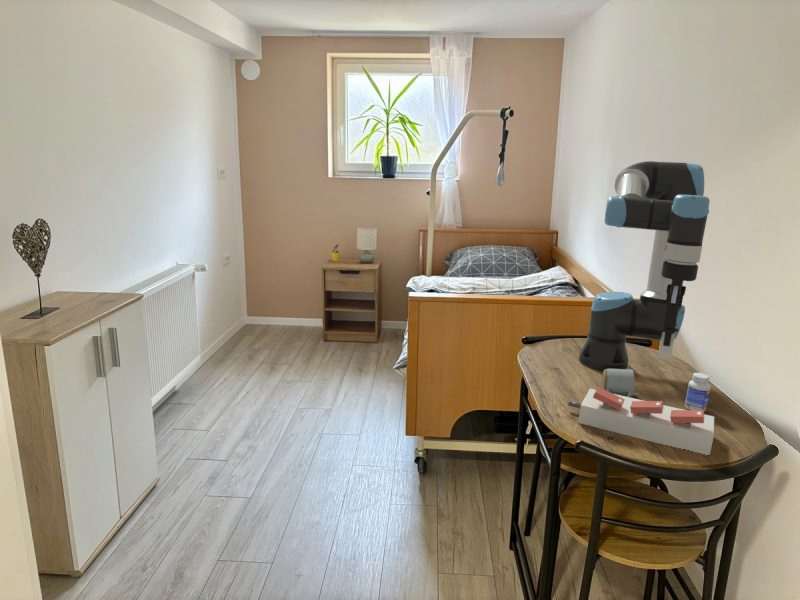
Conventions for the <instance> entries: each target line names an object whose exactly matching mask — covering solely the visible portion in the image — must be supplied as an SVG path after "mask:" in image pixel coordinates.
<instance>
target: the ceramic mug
mask: <svg viewBox="0 0 800 600" xmlns="http://www.w3.org/2000/svg"><path fill="white" fill-rule="evenodd" d="M601 377H602V378H601V388H602V389H604V390H606V391H608V392H610V393H612V394H617V395H621V396H625V397H630V398H633V396H634V391H635V372H634V370H633V369H630V368H629V369H628V368H626V369H605V370H602V376H601Z"/></svg>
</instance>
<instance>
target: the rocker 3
mask: <svg viewBox="0 0 800 600" xmlns="http://www.w3.org/2000/svg"><path fill="white" fill-rule="evenodd" d="M704 414H705V411H704V410H689V409H683V410H671V415H670V419H671V423H704Z"/></svg>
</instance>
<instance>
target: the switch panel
mask: <svg viewBox="0 0 800 600" xmlns="http://www.w3.org/2000/svg"><path fill="white" fill-rule="evenodd" d="M596 390H597V389H593V388H589V389H588V392H587V393H586V395H585V396H584V398H583V400H582V402H581V403H579V402H575V401H572V400H571V401H570V400H569V401H568V404H567V406H569V407H573V408H578V409H579V414H578V415H579V417H578V421H577V423H578V424H580V425H583V426H584V425H586V426H588V427H593V428H597V429H600V430H604V431H609V432H613V433H616V434H621V435H624V436H629V437H633V438H635V439H640V440H644V441H647V442H648V441H649V442H651V443H656V444H660V445H664V446H667V445H668V447H671V446H672V448H675V447H676V449H679V448H681V449H680V450H683V449H686V450H685V451H687V450H690V451H689V452H691V451H694V452H693V453H695V452H699V453H702V454H701V455H703V454H706V455H705V456H707V455H710V456H711V451H712V445H713V440H714V438H715V437H714V436H715V435H714V434H715V431H714V430H715V416H714V415H709V414H705V413H704V423H671V419H670V415H671V410H684V409H682V408H677V407H672V406H669V405H664V404H663V407H664V408H663V412H662V414H651V413H631V409H630V407H631V404H632V401H644V400H642V399H638V398H634V397H625V396H621V395H617V394H614V395H617V396H619V397H621V398H623V399H625V400H624V403H623V405H622V407H621V409H620V411H619V410H617V409H615V408H613V407H611V406H609V405H607V404H605V403H603V402H601V401H599V400H597V399H595V398H593V396H594V394H595V391H596ZM699 453H698V454H699Z"/></svg>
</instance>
